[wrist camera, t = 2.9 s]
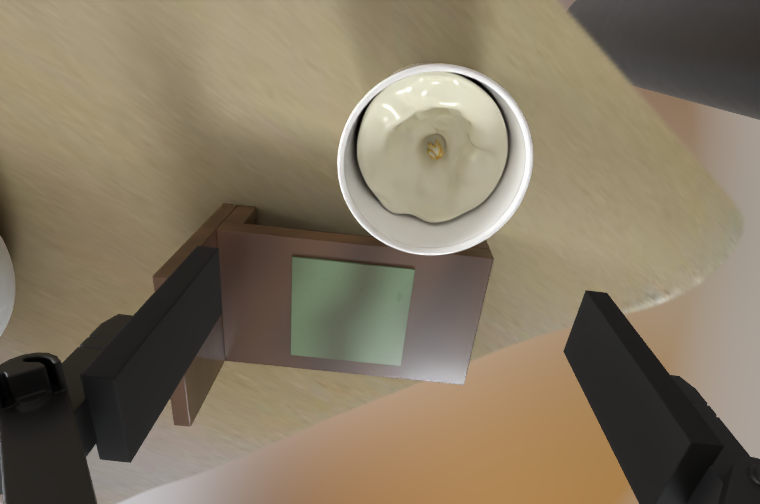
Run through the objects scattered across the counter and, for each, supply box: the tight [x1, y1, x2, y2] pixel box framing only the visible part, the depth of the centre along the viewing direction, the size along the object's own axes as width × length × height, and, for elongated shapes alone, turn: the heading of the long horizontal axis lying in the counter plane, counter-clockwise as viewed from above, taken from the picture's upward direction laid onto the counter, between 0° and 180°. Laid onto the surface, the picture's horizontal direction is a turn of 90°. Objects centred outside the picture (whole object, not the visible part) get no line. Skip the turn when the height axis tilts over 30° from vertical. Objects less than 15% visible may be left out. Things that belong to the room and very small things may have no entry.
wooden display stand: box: [153, 204, 494, 427], centre depth 35 cm, size 21×12×12 cm, turn 84°
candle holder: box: [337, 62, 533, 255], centre depth 28 cm, size 10×10×12 cm
